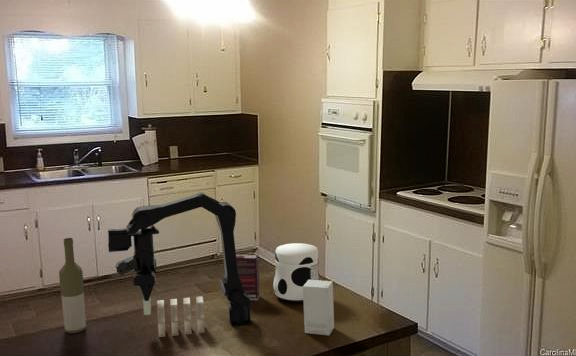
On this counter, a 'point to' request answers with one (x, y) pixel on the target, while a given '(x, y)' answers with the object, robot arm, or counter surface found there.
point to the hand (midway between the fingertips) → (147, 297)
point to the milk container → (294, 270)
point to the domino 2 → (161, 318)
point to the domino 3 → (174, 317)
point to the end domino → (200, 314)
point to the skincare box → (318, 307)
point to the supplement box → (249, 274)
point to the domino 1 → (147, 306)
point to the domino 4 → (187, 315)
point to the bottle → (72, 291)
